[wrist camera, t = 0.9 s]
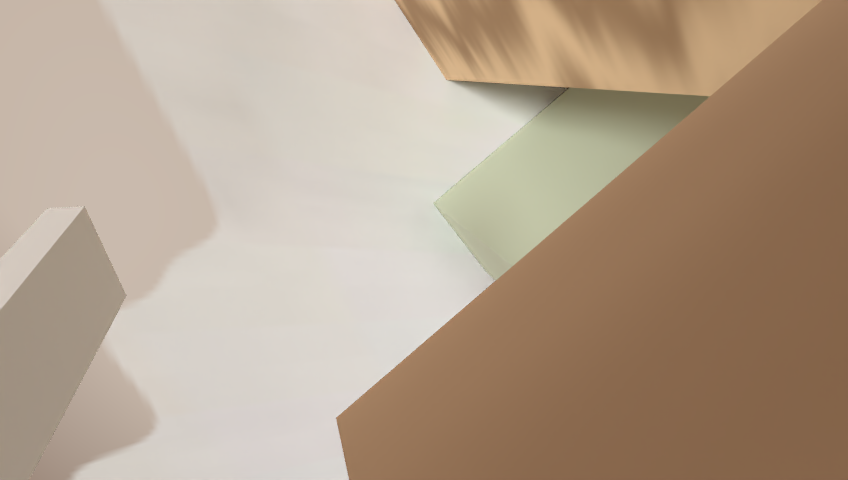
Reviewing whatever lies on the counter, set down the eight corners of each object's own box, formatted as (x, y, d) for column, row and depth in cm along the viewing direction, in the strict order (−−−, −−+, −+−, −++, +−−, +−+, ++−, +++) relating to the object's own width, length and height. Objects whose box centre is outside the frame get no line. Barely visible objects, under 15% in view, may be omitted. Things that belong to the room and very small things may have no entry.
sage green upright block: (433, 203, 35) (611, 344, 17) (573, 84, 35) (891, 100, 17) (487, 272, 39) (680, 449, 21) (613, 164, 39) (910, 245, 21)
